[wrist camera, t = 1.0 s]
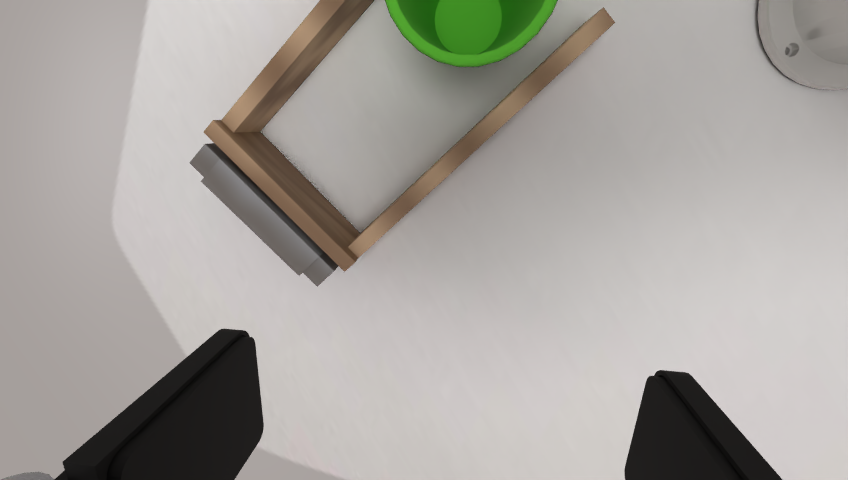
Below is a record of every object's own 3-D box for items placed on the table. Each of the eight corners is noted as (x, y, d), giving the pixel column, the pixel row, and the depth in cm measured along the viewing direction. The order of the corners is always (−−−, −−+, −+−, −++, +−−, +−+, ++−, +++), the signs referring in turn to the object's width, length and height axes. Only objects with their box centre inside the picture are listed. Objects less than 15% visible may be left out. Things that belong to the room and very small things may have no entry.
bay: (464, -132, 26) (464, -194, 21) (594, 36, 29) (623, 16, 23) (221, 153, 34) (178, 159, 29) (339, 270, 36) (319, 295, 31)
